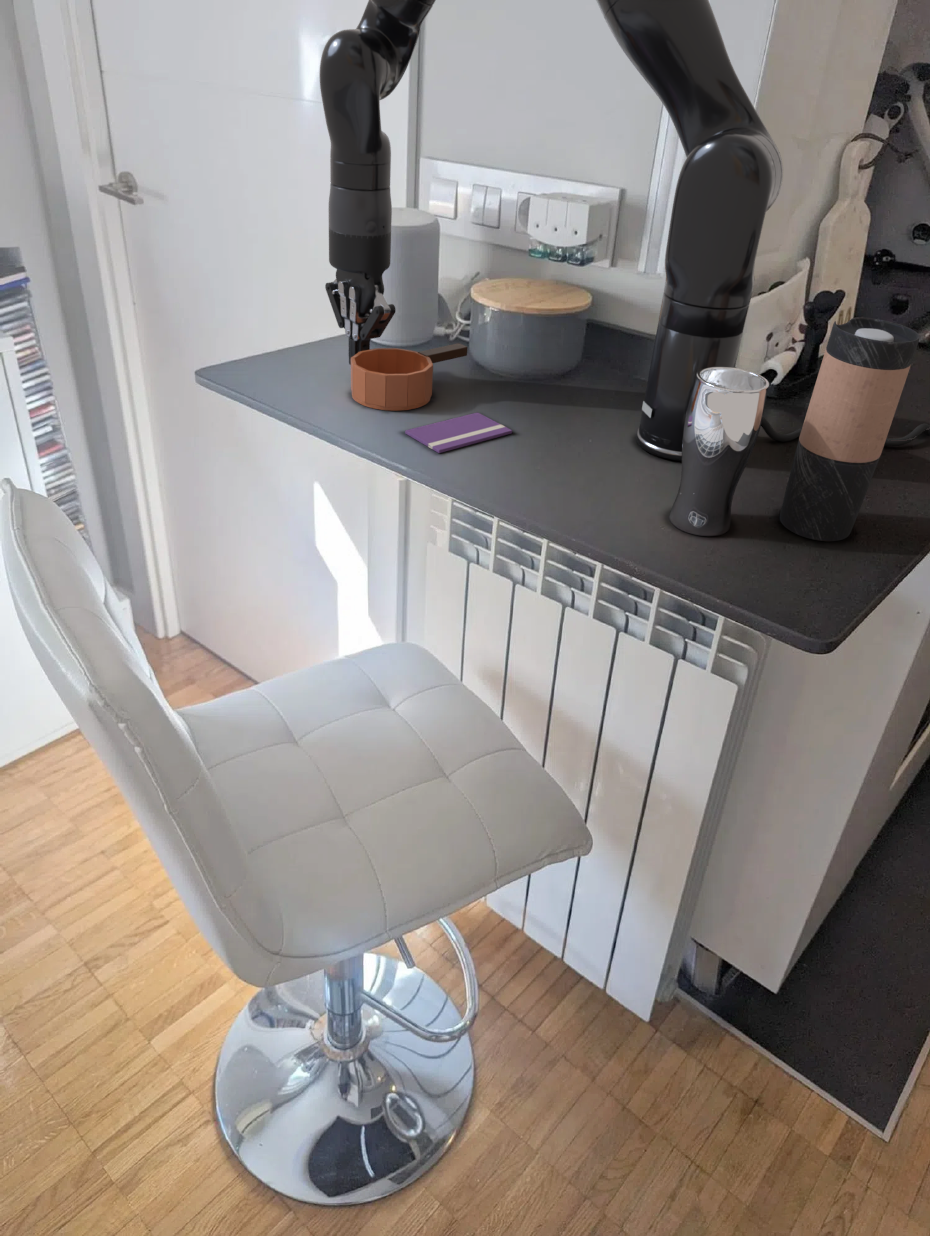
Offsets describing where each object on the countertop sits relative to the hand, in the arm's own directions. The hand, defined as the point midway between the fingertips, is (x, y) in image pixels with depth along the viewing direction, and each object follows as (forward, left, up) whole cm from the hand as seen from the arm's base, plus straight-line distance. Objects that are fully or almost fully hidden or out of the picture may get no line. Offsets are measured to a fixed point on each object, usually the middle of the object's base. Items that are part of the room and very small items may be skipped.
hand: (358, 365), depth 119 cm
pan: (-3, +7, -2) cm, 8 cm away
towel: (0, +21, -2) cm, 21 cm away
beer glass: (-7, +51, -2) cm, 52 cm away
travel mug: (-17, +58, -2) cm, 61 cm away
